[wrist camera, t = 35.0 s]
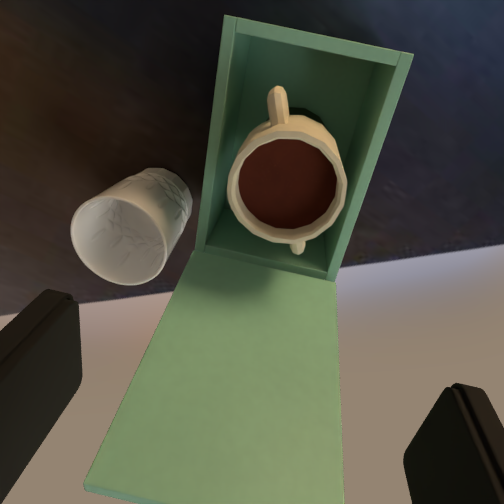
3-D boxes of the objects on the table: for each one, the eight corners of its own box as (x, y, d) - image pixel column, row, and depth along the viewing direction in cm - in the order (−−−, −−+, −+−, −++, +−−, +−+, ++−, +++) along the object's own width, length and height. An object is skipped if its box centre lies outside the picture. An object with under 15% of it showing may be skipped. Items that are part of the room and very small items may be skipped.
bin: (244, 22, 30) (223, 14, 23) (387, 52, 30) (414, 54, 23) (216, 210, 39) (194, 251, 31) (328, 235, 38) (334, 282, 31)
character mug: (242, 84, 32) (205, 105, 21) (328, 67, 31) (340, 79, 19) (264, 205, 37) (244, 276, 25) (339, 195, 35) (353, 265, 24)
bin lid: (82, 483, 16) (93, 527, 20) (347, 547, 16) (314, 581, 19) (193, 249, 30) (189, 298, 33) (336, 282, 30) (318, 327, 33)
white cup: (214, 206, 38) (187, 253, 30) (162, 247, 41) (123, 300, 33) (158, 144, 36) (111, 175, 27) (108, 192, 39) (51, 234, 30)
